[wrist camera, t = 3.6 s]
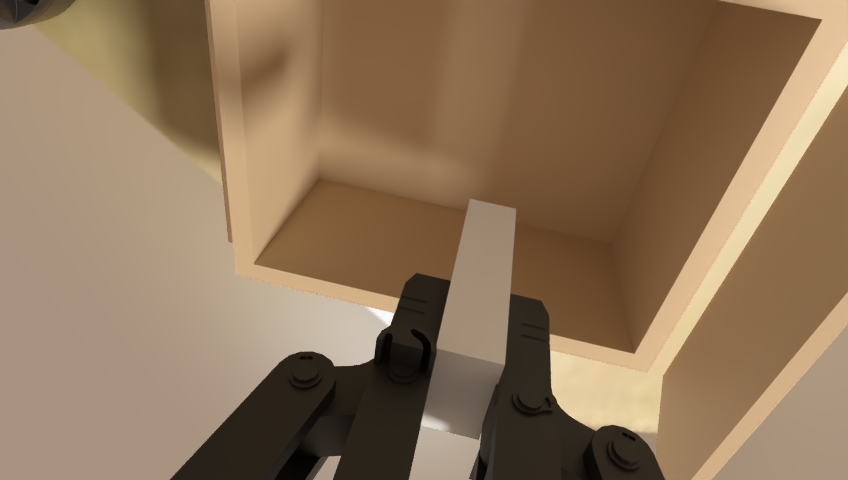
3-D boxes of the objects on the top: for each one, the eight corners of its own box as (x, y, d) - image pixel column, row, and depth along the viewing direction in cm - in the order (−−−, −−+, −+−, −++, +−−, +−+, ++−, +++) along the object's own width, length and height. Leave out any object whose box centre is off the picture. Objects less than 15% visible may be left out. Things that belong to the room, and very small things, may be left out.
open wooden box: (299, 190, 35) (225, 281, 26) (299, -141, 24) (176, -160, 16) (616, 261, 33) (642, 381, 25) (764, -59, 23) (892, -34, 14)
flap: (647, 531, 17) (662, 538, 17) (973, 140, 9) (1007, 148, 8) (663, 375, 22) (674, 380, 22) (867, 54, 14) (886, 58, 14)
